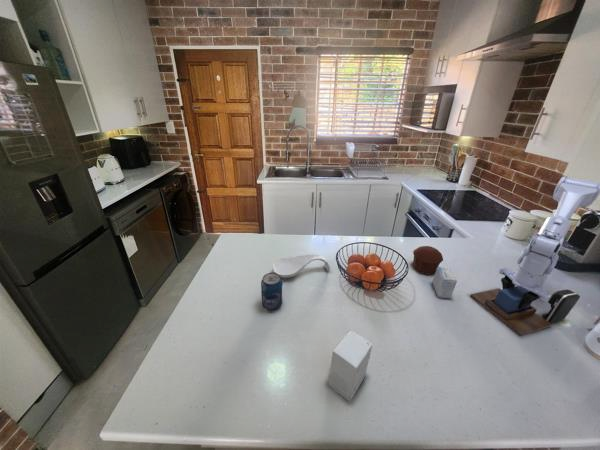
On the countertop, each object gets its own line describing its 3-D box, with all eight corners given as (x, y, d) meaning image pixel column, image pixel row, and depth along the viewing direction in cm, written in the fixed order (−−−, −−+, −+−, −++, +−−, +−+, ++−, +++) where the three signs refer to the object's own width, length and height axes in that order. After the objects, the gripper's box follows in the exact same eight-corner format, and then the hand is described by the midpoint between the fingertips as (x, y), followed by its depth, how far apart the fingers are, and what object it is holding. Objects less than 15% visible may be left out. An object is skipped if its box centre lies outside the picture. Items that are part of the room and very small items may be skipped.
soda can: (262, 314, 82) (260, 286, 76) (261, 299, 88) (260, 272, 82) (283, 312, 83) (283, 284, 77) (281, 297, 89) (281, 270, 83)
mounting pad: (498, 290, 96) (501, 284, 95) (550, 326, 81) (555, 320, 80) (470, 296, 93) (473, 290, 91) (519, 335, 77) (523, 329, 76)
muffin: (434, 262, 112) (440, 243, 107) (442, 277, 102) (450, 257, 97) (407, 259, 113) (412, 240, 109) (412, 274, 104) (418, 254, 99)
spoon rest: (274, 284, 95) (274, 269, 92) (270, 266, 105) (270, 252, 102) (332, 276, 100) (334, 262, 97) (323, 260, 110) (324, 246, 107)
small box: (344, 361, 68) (350, 328, 62) (365, 377, 64) (373, 343, 58) (327, 384, 62) (332, 350, 56) (349, 402, 59) (357, 368, 53)
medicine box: (450, 299, 91) (457, 280, 87) (437, 297, 92) (444, 278, 88) (443, 285, 98) (450, 267, 94) (431, 283, 99) (437, 265, 95)
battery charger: (551, 311, 87) (569, 286, 82) (564, 320, 84) (583, 294, 79) (536, 314, 86) (553, 289, 80) (548, 323, 82) (566, 297, 77)
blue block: (513, 298, 89) (521, 285, 86) (528, 308, 85) (536, 295, 82) (492, 303, 87) (499, 289, 84) (506, 313, 82) (514, 300, 80)
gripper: (499, 259, 84) (484, 289, 90) (547, 287, 72) (526, 320, 78) (514, 256, 86) (499, 286, 92) (563, 283, 74) (542, 316, 80)
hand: (512, 302), depth 85 cm, fingers closed on blue block, 5 cm apart
